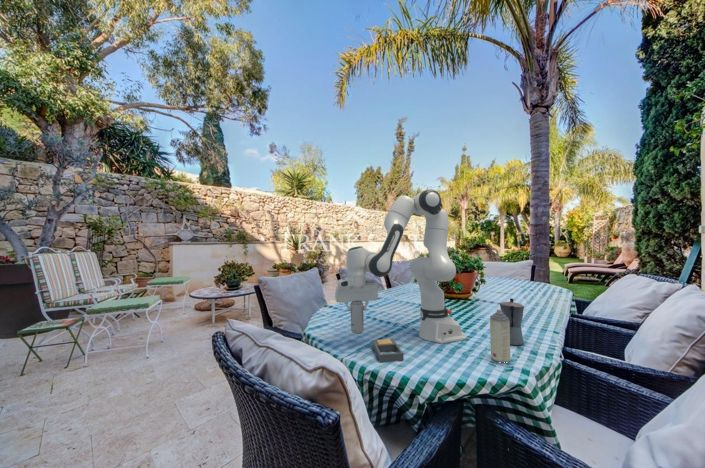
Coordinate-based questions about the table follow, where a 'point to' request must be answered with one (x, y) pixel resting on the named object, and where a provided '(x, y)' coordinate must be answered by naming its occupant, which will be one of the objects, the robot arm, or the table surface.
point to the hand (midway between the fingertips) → (356, 310)
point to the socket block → (387, 350)
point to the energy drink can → (357, 317)
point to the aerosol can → (500, 337)
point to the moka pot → (514, 320)
